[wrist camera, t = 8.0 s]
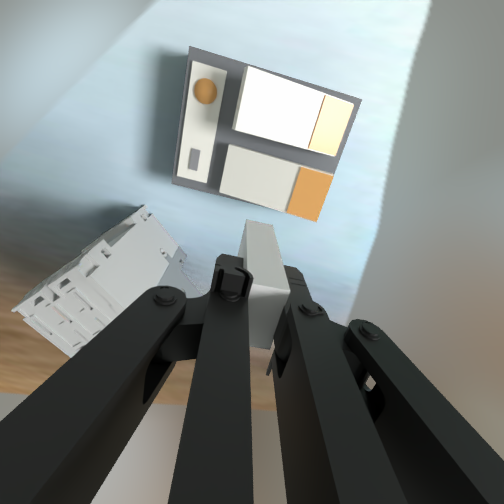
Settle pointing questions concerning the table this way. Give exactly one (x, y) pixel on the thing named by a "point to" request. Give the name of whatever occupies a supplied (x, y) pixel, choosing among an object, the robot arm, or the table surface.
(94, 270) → the circuit breaker
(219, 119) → the switch unit
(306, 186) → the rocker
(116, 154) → the table surface
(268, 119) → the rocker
